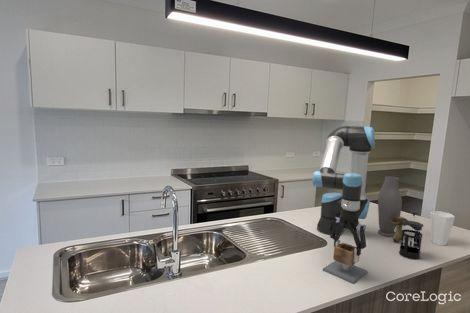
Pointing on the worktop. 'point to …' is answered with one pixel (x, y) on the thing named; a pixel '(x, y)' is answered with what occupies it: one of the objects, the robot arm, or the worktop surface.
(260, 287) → the worktop surface
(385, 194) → the vase
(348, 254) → the collar
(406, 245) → the french press
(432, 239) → the cup
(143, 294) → the worktop surface
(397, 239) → the mushroom
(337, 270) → the grey plate with knob
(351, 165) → the robot arm
